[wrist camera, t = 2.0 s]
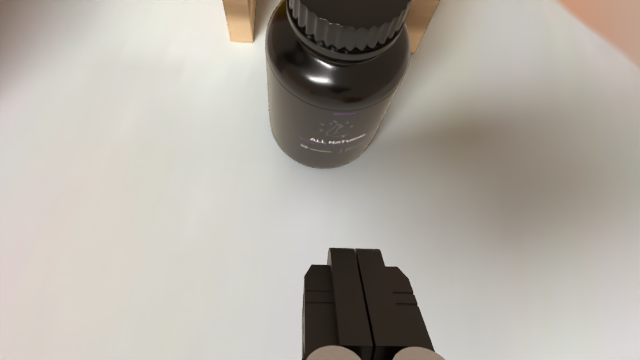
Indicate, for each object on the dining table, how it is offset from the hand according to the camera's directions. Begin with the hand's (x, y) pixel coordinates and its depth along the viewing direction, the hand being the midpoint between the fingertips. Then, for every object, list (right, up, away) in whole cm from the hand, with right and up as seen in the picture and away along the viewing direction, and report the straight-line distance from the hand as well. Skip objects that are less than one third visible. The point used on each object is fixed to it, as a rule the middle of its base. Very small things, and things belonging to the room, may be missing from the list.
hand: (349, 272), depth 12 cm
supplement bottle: (-1, +6, +14) cm, 16 cm away
